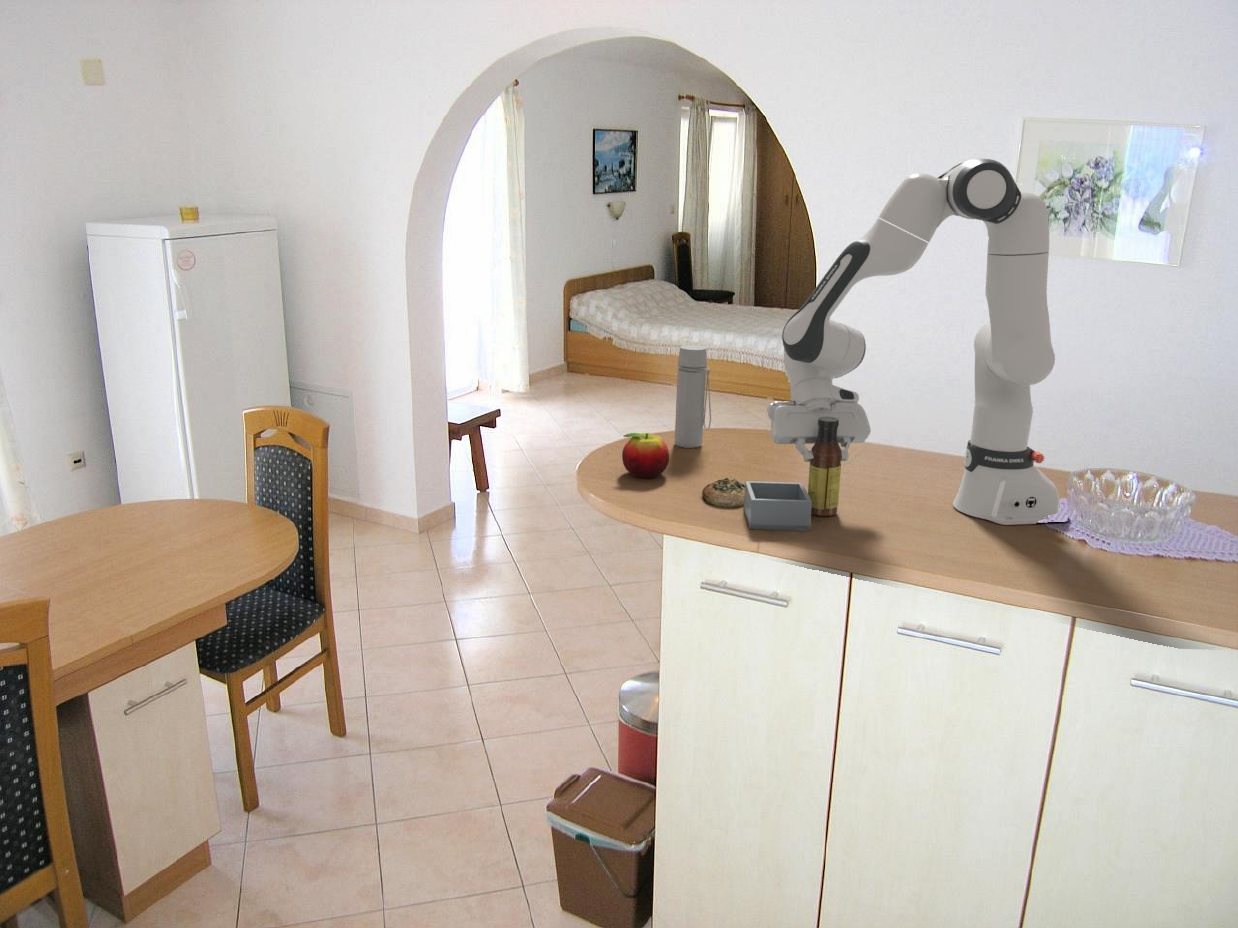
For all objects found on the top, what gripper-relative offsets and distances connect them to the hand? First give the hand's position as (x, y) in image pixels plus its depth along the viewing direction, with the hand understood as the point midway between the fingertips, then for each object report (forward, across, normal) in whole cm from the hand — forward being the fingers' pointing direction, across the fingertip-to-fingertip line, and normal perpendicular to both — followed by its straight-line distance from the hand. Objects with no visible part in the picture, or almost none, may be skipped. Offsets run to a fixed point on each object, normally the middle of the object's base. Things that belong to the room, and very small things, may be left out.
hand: (826, 460), depth 191 cm
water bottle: (-28, -16, +44) cm, 55 cm away
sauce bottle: (+8, 0, +9) cm, 12 cm away
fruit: (-12, -32, +28) cm, 44 cm away
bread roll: (+1, -17, +16) cm, 23 cm away
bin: (+10, -11, +6) cm, 16 cm away
